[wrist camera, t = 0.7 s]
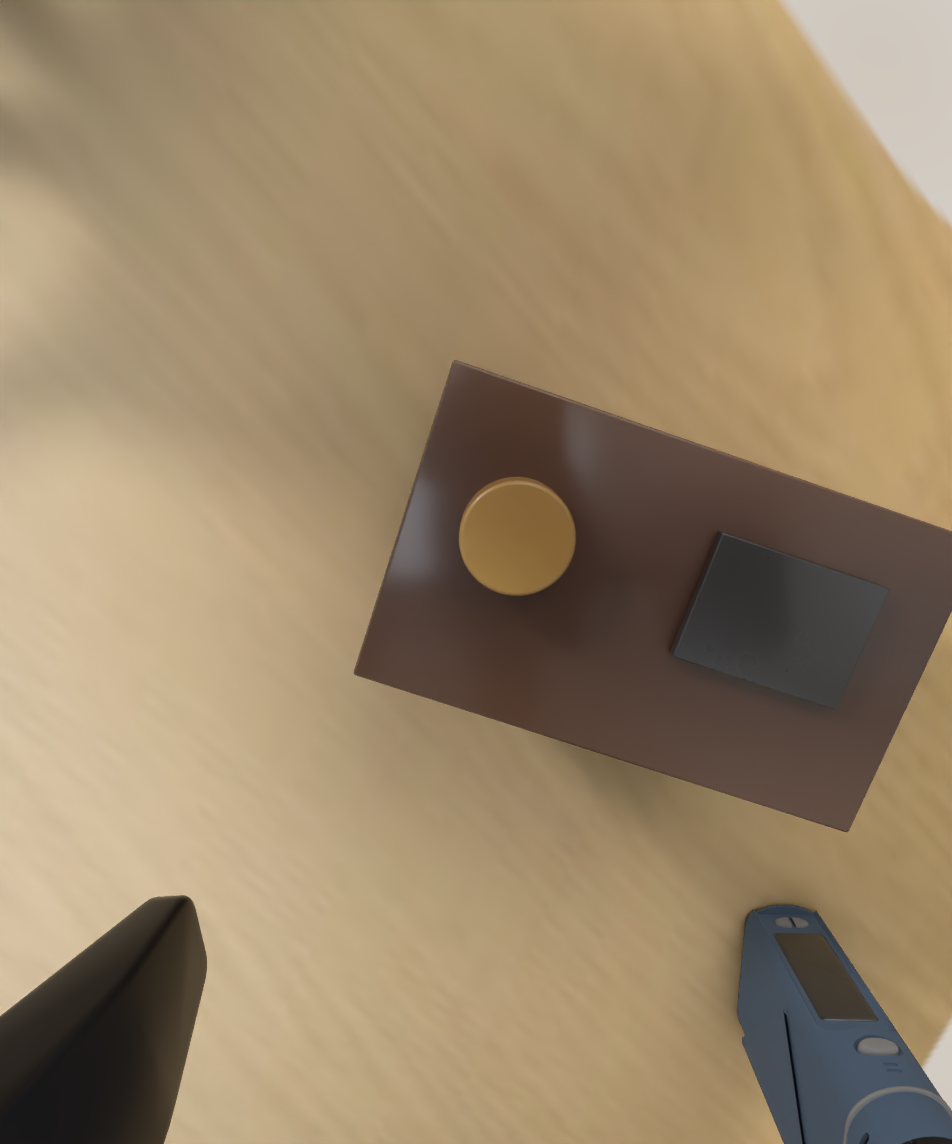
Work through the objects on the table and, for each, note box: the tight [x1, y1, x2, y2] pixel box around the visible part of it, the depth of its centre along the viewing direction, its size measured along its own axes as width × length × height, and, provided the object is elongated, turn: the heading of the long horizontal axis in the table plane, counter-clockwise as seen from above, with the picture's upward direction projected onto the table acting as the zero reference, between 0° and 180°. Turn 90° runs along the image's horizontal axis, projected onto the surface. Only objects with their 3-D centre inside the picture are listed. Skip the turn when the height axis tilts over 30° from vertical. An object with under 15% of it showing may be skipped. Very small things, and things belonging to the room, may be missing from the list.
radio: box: [354, 360, 952, 832], centre depth 18 cm, size 6×10×9 cm, turn 71°
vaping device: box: [737, 905, 952, 1144], centre depth 19 cm, size 3×5×12 cm, turn 179°
